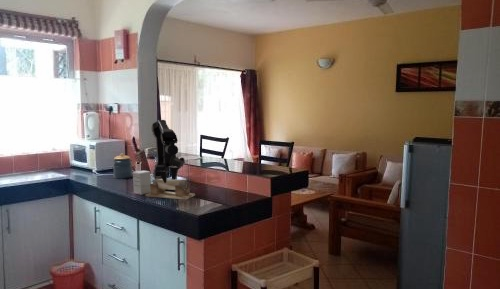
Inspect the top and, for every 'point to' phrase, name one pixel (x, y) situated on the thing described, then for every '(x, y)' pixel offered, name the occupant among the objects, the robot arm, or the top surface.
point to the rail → (170, 184)
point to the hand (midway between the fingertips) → (169, 181)
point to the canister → (122, 167)
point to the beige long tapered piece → (175, 195)
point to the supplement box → (141, 182)
